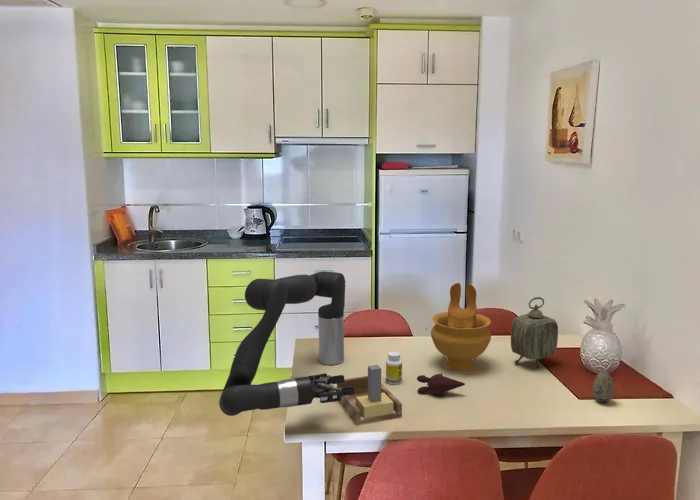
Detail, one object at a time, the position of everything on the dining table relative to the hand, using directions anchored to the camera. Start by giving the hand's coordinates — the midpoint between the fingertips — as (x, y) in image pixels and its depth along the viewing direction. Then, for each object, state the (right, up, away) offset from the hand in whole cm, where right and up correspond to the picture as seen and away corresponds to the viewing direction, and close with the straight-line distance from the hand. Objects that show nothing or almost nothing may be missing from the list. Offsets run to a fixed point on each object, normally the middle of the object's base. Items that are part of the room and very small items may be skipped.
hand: (348, 384), depth 162 cm
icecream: (+29, -8, +19) cm, 35 cm away
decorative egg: (+78, -9, +12) cm, 79 cm away
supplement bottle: (+15, -6, +28) cm, 33 cm away
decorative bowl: (+40, -3, +42) cm, 58 cm away
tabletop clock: (+66, -3, +42) cm, 78 cm away
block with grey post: (+8, -9, +5) cm, 13 cm away
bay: (+6, -9, +9) cm, 14 cm away
